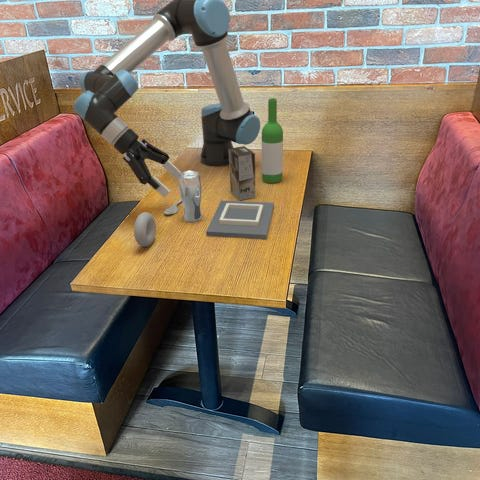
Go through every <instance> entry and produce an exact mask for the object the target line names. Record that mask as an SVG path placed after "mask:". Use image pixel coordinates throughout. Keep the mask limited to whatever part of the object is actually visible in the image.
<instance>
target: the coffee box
mask: <svg viewBox="0 0 480 480" xmlns="http://www.w3.org/2000/svg"><path fill="white" fill-rule="evenodd" d="M255 155H256V154H255V152H253V151H252V150H250V148H248V147H246V145H243V146H237V147H234V148H231V149H229V164H228V166H229V185H230V192H231V193H232V195H234V196H235V197H236V198H237V199H238V201H245V200H248V199H255V198H256V158H255V157H256V156H255Z"/></svg>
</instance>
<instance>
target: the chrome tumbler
mask: <svg viewBox="0 0 480 480" xmlns="http://www.w3.org/2000/svg"><path fill="white" fill-rule="evenodd" d="M180 172H181V173H180V174H179V175H178V177H179V179H178V191H179V195H180V199H181V200H182V201H181V202H182V205H183V220H184V221H185V222H187V223H196V222H200V221H201V220H203V213H202V210H201V201H202V194H203V193H202V189H203V188H202V179H201V174H200V172H198V171H197V170H196V171H195V170H185V171H180Z"/></svg>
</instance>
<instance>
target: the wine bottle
mask: <svg viewBox="0 0 480 480" xmlns="http://www.w3.org/2000/svg"><path fill="white" fill-rule="evenodd" d="M277 101H278V100H277V98H268V102H267V103H268V105H267V107H268V109H267V111H268V113H267V120H268V121H267V123H265V125H264V126H263V127H262V129H261V178H262V181H263V182H265V183H267V184H277V183H279V182H281V181H282V180H283V171H284V170H283V168H284V165H283V164H284V130H283V127H282V126H281V124H280V123H279V122H278V121H277V120H278V119H277V117H278V115H277V113H278V112H277V111H278V107H277V105H278V104H277V103H278V102H277Z"/></svg>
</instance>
